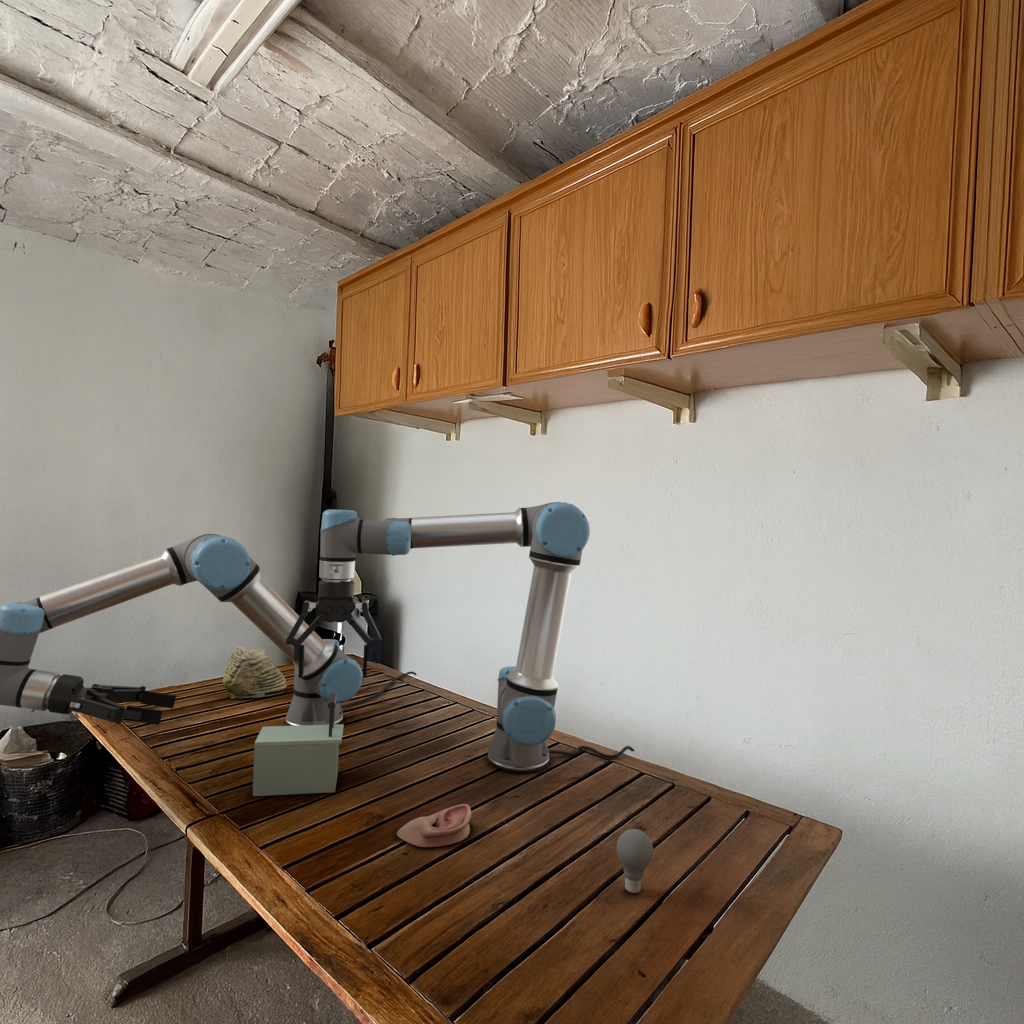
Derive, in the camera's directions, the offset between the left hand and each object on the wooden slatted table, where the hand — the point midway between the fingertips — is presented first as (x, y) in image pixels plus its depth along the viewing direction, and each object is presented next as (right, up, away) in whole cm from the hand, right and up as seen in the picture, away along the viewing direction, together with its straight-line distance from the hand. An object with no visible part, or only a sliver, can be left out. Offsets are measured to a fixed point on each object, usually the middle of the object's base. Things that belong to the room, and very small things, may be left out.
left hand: (168, 709), depth 134 cm
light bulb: (+93, -22, -28) cm, 99 cm away
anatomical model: (+58, -20, -13) cm, 62 cm away
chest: (+26, -18, +5) cm, 32 cm away
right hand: (+33, +6, +6) cm, 34 cm away
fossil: (-8, -15, +64) cm, 67 cm away
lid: (+26, -8, +5) cm, 28 cm away
